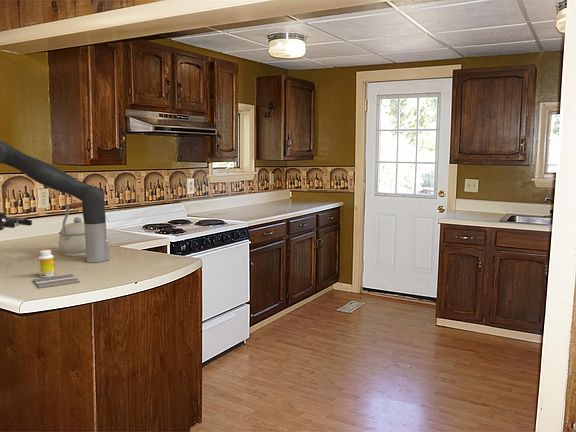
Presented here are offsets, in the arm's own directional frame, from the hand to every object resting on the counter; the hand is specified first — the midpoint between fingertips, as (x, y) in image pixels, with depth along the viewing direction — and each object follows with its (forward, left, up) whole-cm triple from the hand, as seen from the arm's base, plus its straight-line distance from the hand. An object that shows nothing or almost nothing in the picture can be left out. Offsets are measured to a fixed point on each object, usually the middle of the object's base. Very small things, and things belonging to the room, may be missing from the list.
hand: (22, 224), depth 205 cm
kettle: (-29, -35, -21) cm, 50 cm away
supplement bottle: (-6, +8, -21) cm, 23 cm away
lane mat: (-7, +20, -21) cm, 30 cm away
